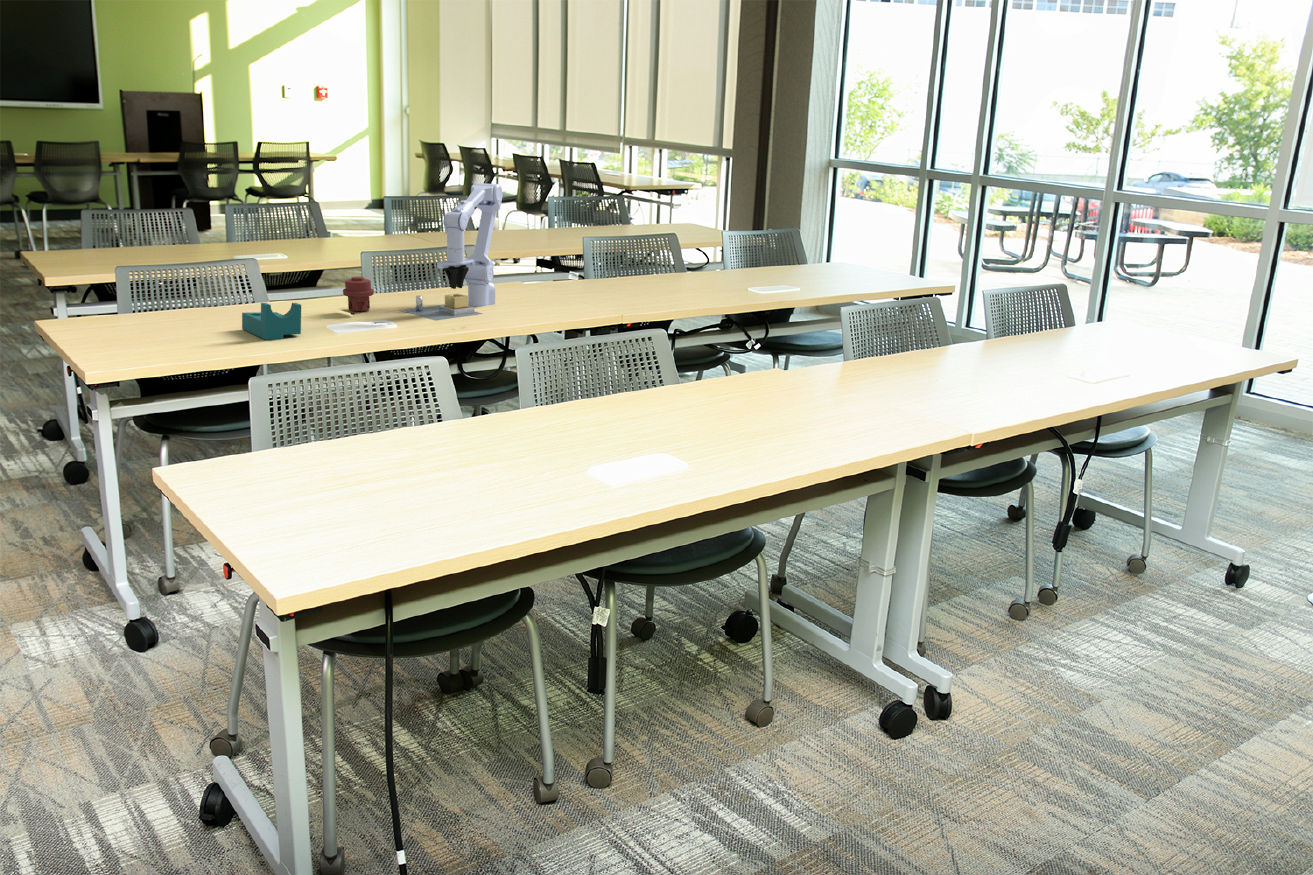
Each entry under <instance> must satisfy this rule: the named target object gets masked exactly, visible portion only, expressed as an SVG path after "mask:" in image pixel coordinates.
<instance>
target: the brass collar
mask: <svg viewBox="0 0 1313 875" xmlns="http://www.w3.org/2000/svg"><path fill="white" fill-rule="evenodd" d="M444 304H445V307H448V308H452V309H461V308H468V306H469V305H468V295H465V294H461V293H453V294H445V295H444Z"/></svg>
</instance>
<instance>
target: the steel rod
mask: <svg viewBox="0 0 1313 875" xmlns="http://www.w3.org/2000/svg"><path fill="white" fill-rule="evenodd" d="M423 302H424V301H423V295H415V308H416V311H417V312H422V311H423V307H424V304H423Z"/></svg>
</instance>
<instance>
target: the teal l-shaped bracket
mask: <svg viewBox="0 0 1313 875" xmlns="http://www.w3.org/2000/svg"><path fill="white" fill-rule="evenodd" d="M241 329H242V330H244V331H246V332H248V333H251V334H252V335H255V336H257V337H259V338H260V339H263V340H265V341H266V340H269V341H270V340H271V341H272V340H273V341H275V340H283V339H284V335H301V334H302V304H301V303H299V302H291V306H290V308H289V310H288V311H287V312H286V313H285V314H281V313H279V312H276V311H275V312H274V311H273V309H272V305H271V304H269V303H267V302H260V312H256V311H255V312H253V311H252V312H241Z"/></svg>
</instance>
